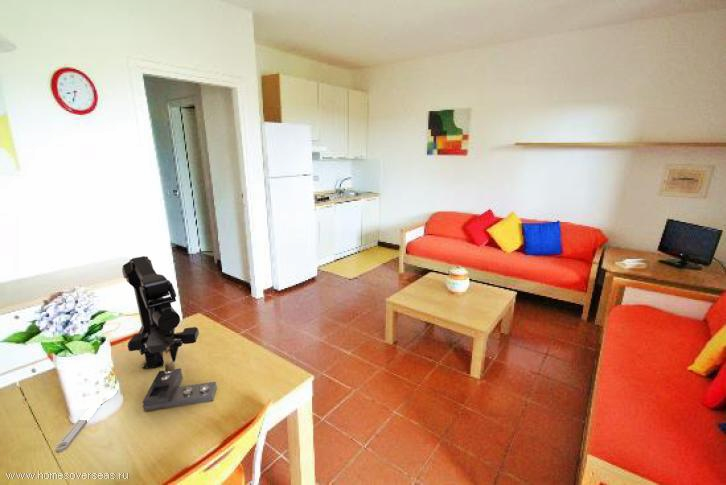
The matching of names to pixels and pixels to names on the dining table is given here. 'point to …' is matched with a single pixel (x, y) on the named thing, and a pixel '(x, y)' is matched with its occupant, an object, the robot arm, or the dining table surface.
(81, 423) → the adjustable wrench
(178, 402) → the chain ends
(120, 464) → the dining table surface
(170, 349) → the pin
